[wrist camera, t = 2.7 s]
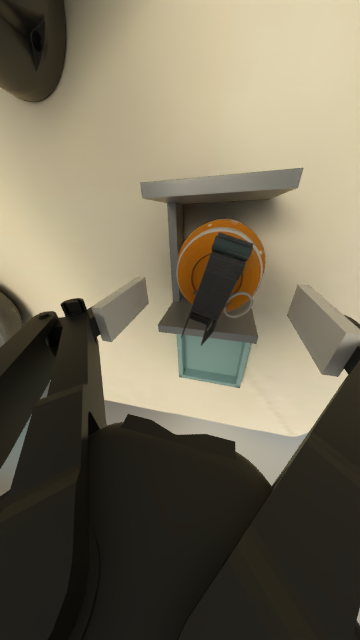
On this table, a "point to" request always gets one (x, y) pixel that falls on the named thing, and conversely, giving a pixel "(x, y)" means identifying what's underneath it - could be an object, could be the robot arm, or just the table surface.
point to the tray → (212, 360)
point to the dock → (175, 196)
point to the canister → (219, 270)
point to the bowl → (8, 319)
